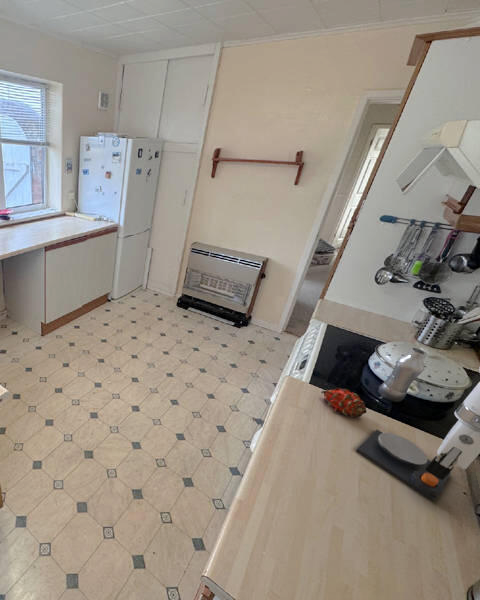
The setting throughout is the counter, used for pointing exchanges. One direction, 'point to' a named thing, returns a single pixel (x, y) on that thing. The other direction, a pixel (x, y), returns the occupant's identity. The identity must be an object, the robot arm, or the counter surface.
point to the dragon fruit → (345, 402)
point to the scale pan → (402, 449)
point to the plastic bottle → (403, 375)
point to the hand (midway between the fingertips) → (434, 473)
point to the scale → (400, 468)
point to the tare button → (429, 479)
